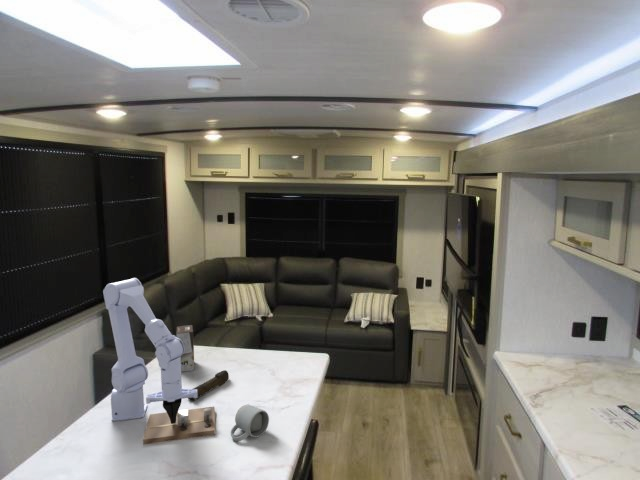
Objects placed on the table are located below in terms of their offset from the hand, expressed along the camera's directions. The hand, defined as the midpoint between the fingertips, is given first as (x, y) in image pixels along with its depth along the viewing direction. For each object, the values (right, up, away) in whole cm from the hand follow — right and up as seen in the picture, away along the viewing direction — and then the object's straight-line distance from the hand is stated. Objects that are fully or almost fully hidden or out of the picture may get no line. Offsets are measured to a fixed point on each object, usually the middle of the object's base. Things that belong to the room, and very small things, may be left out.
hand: (173, 421), depth 131 cm
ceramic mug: (+23, -3, -2) cm, 23 cm away
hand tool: (+4, +1, +26) cm, 26 cm away
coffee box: (-10, +3, +45) cm, 46 cm away
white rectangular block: (+3, -1, +1) cm, 3 cm away
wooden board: (+2, -2, +2) cm, 3 cm away
